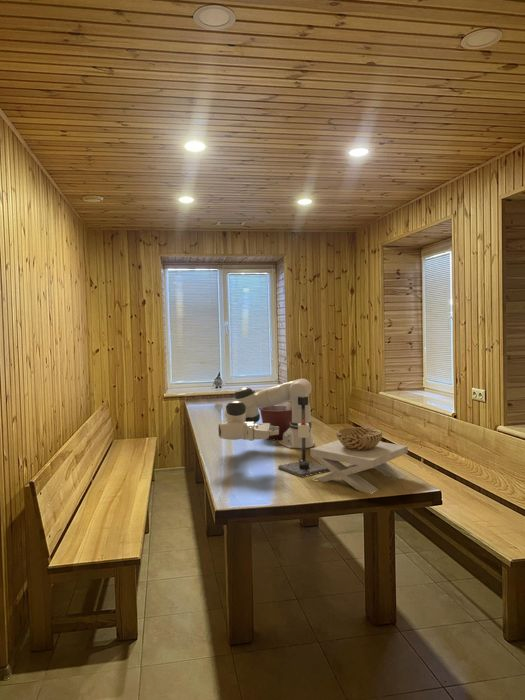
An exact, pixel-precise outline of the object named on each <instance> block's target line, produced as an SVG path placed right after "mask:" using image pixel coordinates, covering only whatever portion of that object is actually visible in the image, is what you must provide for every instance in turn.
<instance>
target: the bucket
mask: <svg viewBox="0 0 525 700" xmlns="http://www.w3.org/2000/svg"><path fill="white" fill-rule="evenodd" d="M258 411H259V413H260V418H261V423H270V426H279V434H278V435H269V438H267V439H266V440H270V441H281V440H283V434H284V432H286V431H287V430H288V429H289V428H290V423H289V422H292V408H291V406H289V405H274V406H270V407H264V408H258ZM270 431H275V430H270Z"/></svg>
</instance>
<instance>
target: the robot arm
mask: <svg viewBox="0 0 525 700" xmlns="http://www.w3.org/2000/svg"><path fill="white" fill-rule="evenodd" d="M312 388H313V387H312V384H311V382H310V381H309V380H308V379H306V378H298V379H295V380H292V381H288V382H284V383H281V384H278V385H274V386H270V387H266V388H263V389H260V390H258V391H255V390H254V389H252V388H250V387H241V388H238V389H237V390H236V391H235V392H234V399H235V400H234V401H230V402H228V403H227V404H226V406H225V412H224V418H225V422H220V423H218V437H219V438H220V439H223V440H229V441H231V440H232V441H237V440H244V441H245V440H246V441H250V442H251V441H255V440H268V439H267V438H269V435H278V434H279V426H270V423H262V422H261V423H258V422H259V421H260V418H261V413H260V410H259V408H264V407H270V406H279V405H282V404H286V403H288V402H290V405H291V406H290V407H291V408H292V422H289V423H290V428H289V429H288V430H287V431H286V432H284V434H283V440H278V444H279V445H280V444H281V445H282V446H285V447H287V448H289V449H302V438H298V423H301V419H302V418H301V405H298V397H299V396H307V397H308V405H305V419H306V423H309V438H305V441H306V449H308V448H313V447H315V446H314V445H315V441H314V436H313V430H312V421H311V416H312V415H311V414H312V413H311V405H310V394H311V392H312ZM270 430H275V431H270Z"/></svg>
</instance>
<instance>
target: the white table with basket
mask: <svg viewBox="0 0 525 700" xmlns="http://www.w3.org/2000/svg"><path fill="white" fill-rule="evenodd" d="M335 434H336V438H337V440H334V441H330V442H328V443H324V444H322V445H319V446H314V447H310V452H309V453H310V454H309V455H310V457H312V458H313V459H314V460H315V461H317V462H319V464H321V465H324V466H325V467H326V468H328V469H329V470H330V473H327V474H324V475H323V474H322V475H320V477H319V476H317V477H314V478H315V479H314V478H313V479H314V480H313V481H315V480H318V481H317V482H319V481H322V482H321V483H326V482H330V481H331V480H335V479H339V478H340V479H341V480H343V481H344V482H345V483H347V484H348V485H349V486H351V487H352V488H354V489H355V490H357V491H358V490H359V491H358V492H362V491H363V493H366V492H367V494H370V493H372V492H374V491H376V492H378V491H379V489H378V488H377V487H376V486H374V485H373V484H371V483H370V482H368V481H367V480H366V479H365V478H363V477H361V476H360V475H359V474H357V473H359V472H360V473H361V472H363V471H367V470H369V469H375V470H377V471H378V472H380V473H381V474H383V476H385V477H388V478H391V477H392V479H396V480H403V479H404V478H405V477H407V475H405V474H404V473H403V472H402V471H399V470H398V469H396V468H395V467H393V466H392V465H390V464H389V463H388V462H390V461H392V460H394V459H396V458H399V457H402V456H403V455H406V454H408V450H409V449H408V447H409V446H408V445H403V444H398V443H397V444H396V443H389V442H384V441H381V440H382V437H383V432H382V431H381V430H379V429H376V428H371V427H363V426H362V427H355V426H353V427H344V428H339V429H337V430H336V432H335ZM343 463H345V464H348V465H345V464H343ZM377 490H378V491H377ZM374 493H375V492H374ZM372 494H373V493H372Z"/></svg>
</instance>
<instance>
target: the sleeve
mask: <svg viewBox="0 0 525 700" xmlns="http://www.w3.org/2000/svg"><path fill="white" fill-rule="evenodd" d="M298 438H309V423H305V425H302V423H298Z"/></svg>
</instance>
